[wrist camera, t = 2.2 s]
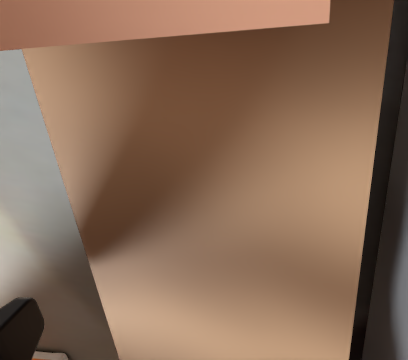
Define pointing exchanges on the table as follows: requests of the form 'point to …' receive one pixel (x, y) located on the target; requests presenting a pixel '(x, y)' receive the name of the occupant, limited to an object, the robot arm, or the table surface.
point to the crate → (144, 19)
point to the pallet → (222, 181)
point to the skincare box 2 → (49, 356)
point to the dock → (392, 257)
